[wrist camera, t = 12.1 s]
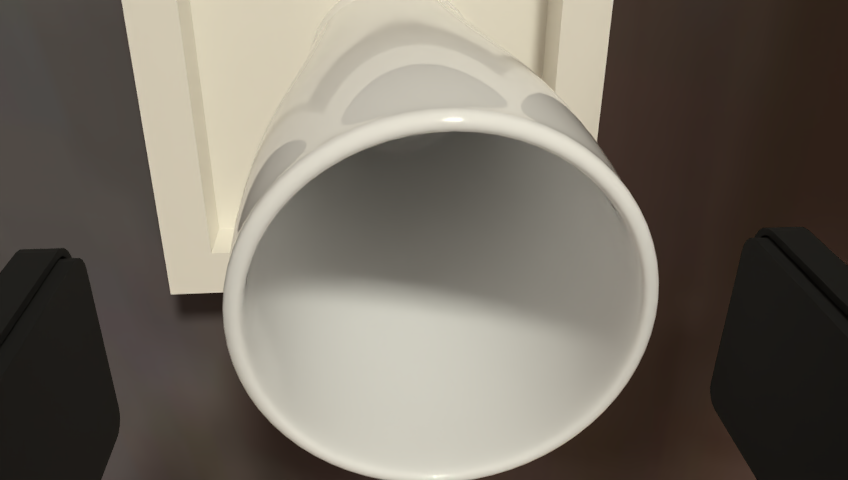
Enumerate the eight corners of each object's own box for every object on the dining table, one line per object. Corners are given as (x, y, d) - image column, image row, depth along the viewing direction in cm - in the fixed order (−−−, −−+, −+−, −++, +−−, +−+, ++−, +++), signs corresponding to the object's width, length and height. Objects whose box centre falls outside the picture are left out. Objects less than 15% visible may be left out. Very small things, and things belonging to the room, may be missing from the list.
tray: (607, -176, 23) (633, -177, 21) (563, 246, 29) (580, 278, 27) (115, -181, 22) (90, -182, 20) (184, 259, 28) (170, 294, 26)
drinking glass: (540, 35, 25) (761, 264, 12) (419, 197, 27) (488, 544, 14) (362, -96, 23) (384, 1, 9) (246, 92, 25) (132, 386, 12)
